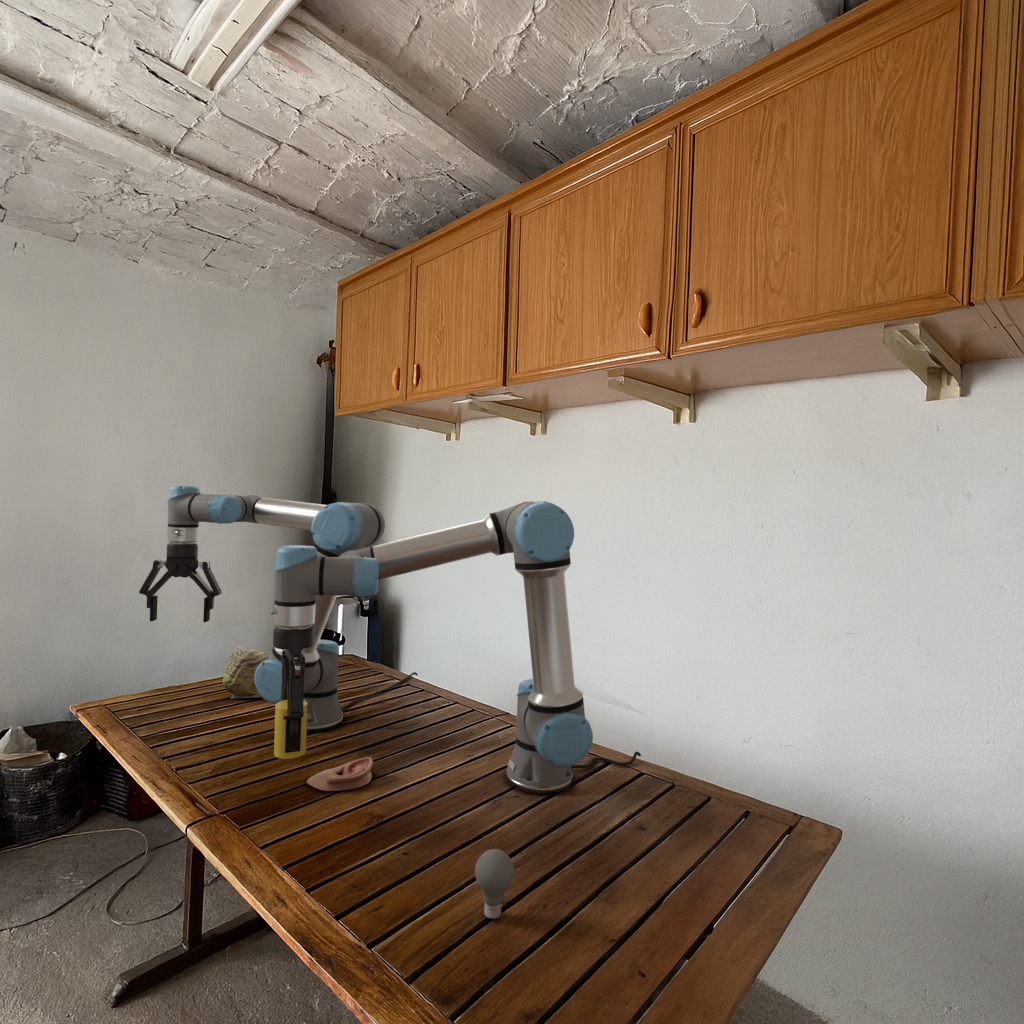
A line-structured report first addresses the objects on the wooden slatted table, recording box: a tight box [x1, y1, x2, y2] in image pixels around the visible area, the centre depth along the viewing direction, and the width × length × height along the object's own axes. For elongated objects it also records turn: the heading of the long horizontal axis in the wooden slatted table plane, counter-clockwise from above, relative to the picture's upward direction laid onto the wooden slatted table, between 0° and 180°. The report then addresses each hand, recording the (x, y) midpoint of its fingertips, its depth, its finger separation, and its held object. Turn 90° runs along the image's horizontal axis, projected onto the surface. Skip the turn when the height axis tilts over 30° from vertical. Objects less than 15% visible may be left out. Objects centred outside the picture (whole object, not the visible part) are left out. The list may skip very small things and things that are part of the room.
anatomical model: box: [306, 756, 374, 792], centre depth 141 cm, size 13×4×12 cm
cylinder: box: [273, 700, 307, 760], centre depth 122 cm, size 6×6×10 cm
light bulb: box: [474, 848, 515, 919], centre depth 98 cm, size 6×6×10 cm
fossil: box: [222, 646, 270, 699], centre depth 198 cm, size 9×18×15 cm, turn 132°
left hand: (180, 620), depth 172 cm, fingers open, 13 cm apart
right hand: (290, 744), depth 122 cm, fingers closed on cylinder, 6 cm apart
